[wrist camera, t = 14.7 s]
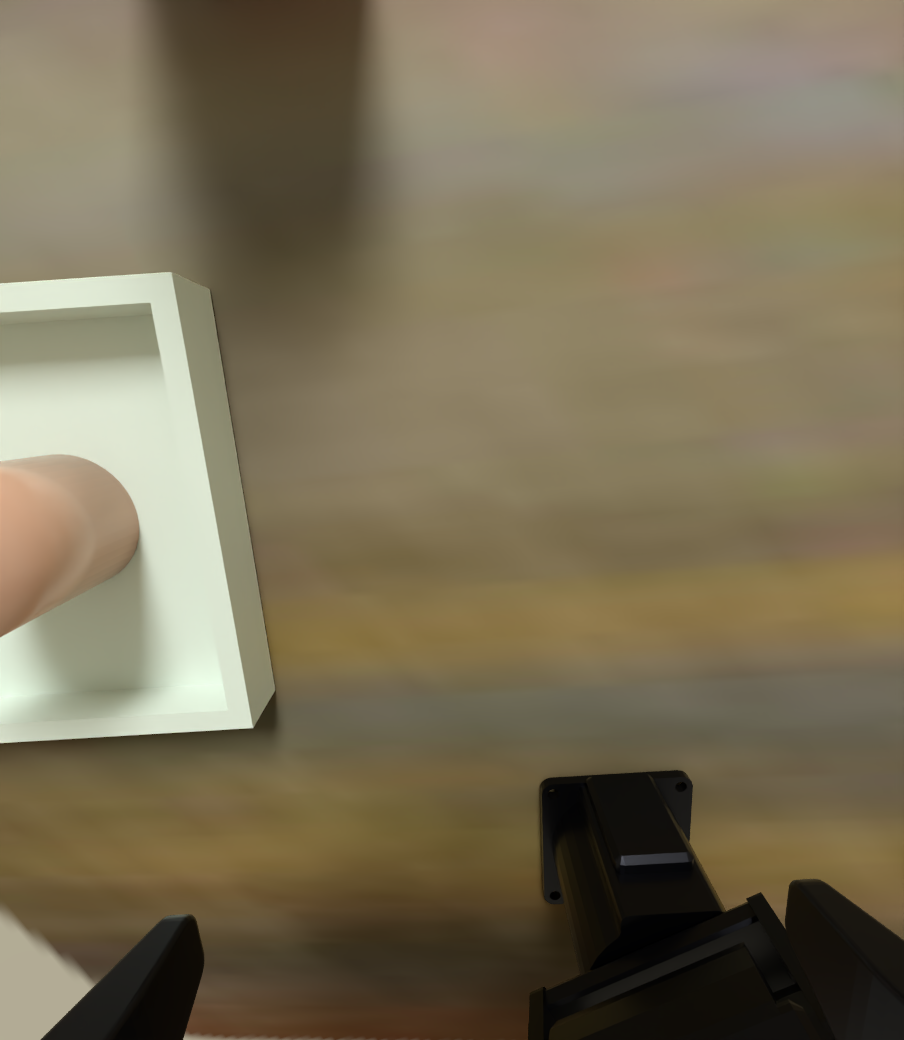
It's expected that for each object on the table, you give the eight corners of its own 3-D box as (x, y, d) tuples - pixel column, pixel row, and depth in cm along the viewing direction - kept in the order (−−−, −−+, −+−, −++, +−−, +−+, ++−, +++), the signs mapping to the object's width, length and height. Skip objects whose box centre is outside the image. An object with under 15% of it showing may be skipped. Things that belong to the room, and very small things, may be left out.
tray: (275, 690, 21) (252, 727, 19) (-23, 708, 21) (-83, 747, 19) (209, 289, 18) (171, 271, 15) (-150, 313, 18) (-245, 300, 15)
